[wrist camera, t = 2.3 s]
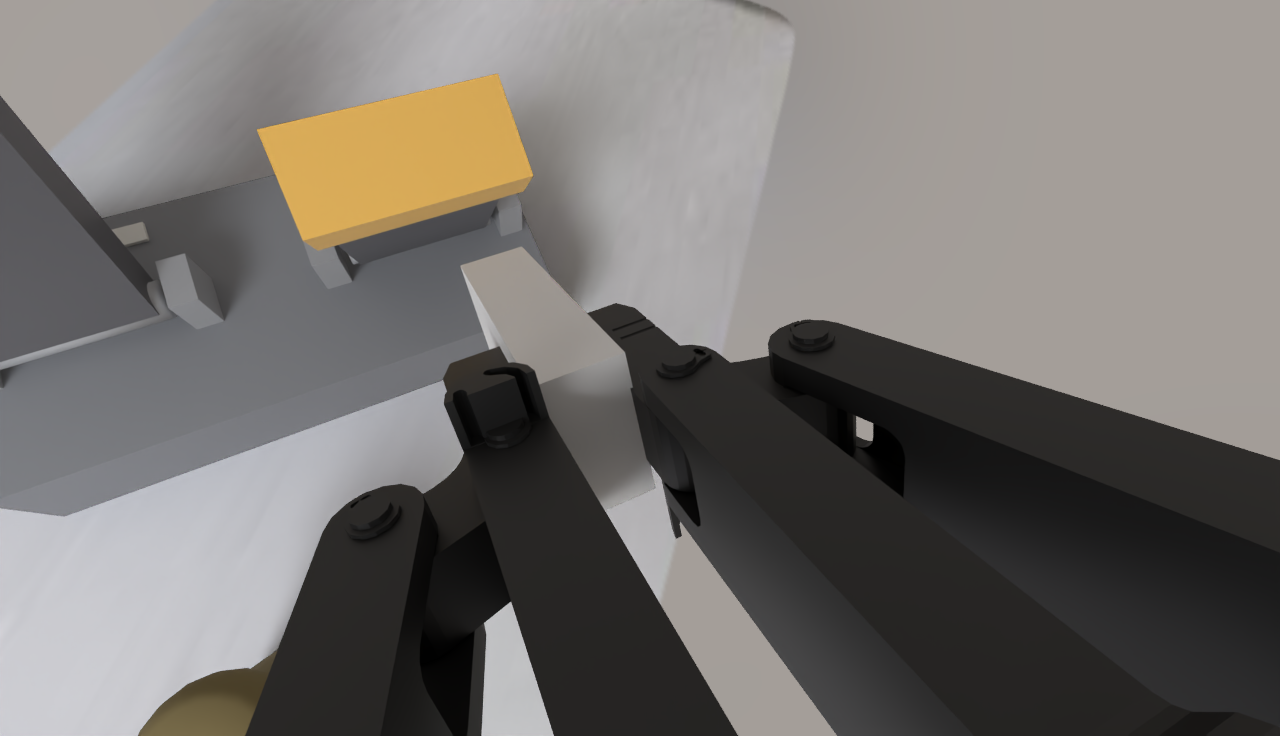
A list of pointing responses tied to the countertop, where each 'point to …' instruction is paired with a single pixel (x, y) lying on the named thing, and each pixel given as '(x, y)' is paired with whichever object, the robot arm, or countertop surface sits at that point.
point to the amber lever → (400, 168)
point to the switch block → (237, 347)
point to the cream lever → (60, 260)
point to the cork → (212, 704)
